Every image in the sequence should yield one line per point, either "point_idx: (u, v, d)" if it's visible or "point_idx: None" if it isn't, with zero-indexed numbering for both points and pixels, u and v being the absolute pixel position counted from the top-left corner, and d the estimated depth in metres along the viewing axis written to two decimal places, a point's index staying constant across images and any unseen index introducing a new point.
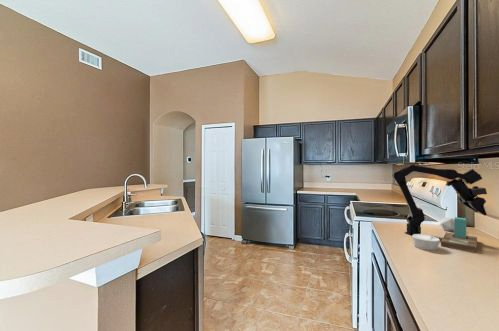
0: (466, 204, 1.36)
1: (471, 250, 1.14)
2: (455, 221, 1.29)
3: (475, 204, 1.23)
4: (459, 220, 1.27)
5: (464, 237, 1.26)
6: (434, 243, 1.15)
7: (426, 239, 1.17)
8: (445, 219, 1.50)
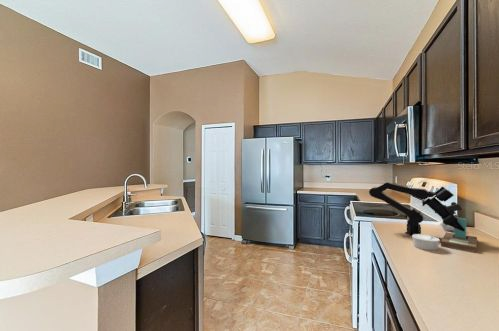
0: None
1: (471, 250, 1.14)
2: None
3: (446, 222, 1.25)
4: (459, 220, 1.27)
5: (464, 237, 1.26)
6: (434, 243, 1.15)
7: (426, 239, 1.17)
8: None
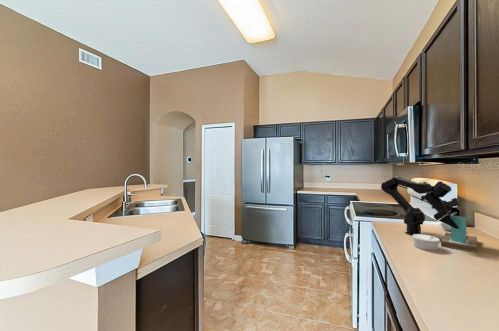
0: None
1: (471, 250, 1.14)
2: None
3: (437, 217, 1.21)
4: (456, 218, 1.20)
5: (460, 237, 1.19)
6: (434, 243, 1.15)
7: (426, 239, 1.17)
8: None
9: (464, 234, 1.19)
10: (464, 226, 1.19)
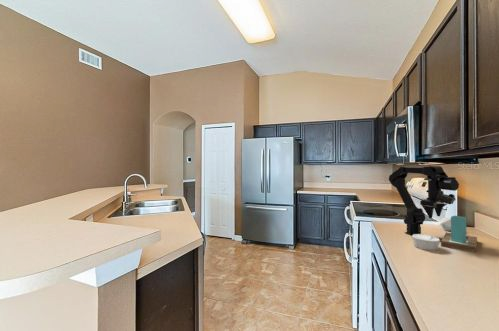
0: None
1: (471, 250, 1.14)
2: (452, 219, 1.22)
3: (422, 203, 1.27)
4: (456, 218, 1.20)
5: (460, 237, 1.19)
6: (434, 243, 1.15)
7: (426, 239, 1.17)
8: (445, 219, 1.50)
9: (464, 234, 1.19)
10: (464, 226, 1.19)
